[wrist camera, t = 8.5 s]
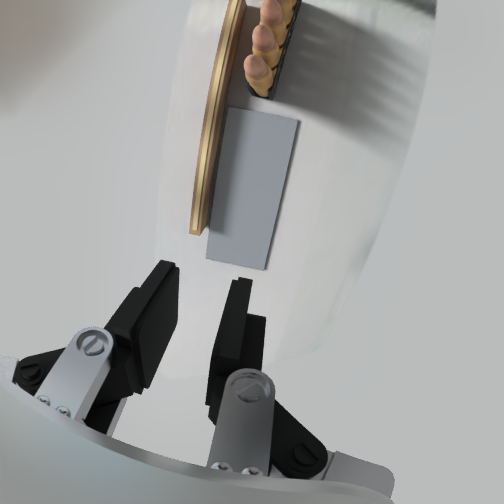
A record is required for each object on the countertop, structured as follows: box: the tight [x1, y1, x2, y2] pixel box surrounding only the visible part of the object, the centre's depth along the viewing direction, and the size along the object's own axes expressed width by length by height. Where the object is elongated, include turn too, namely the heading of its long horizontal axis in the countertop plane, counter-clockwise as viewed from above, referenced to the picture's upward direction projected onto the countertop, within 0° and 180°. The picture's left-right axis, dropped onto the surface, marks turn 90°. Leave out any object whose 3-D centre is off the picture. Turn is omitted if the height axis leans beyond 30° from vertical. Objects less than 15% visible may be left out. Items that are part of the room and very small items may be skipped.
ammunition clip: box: [244, 0, 301, 100], centre depth 13 cm, size 11×2×12 cm, turn 166°
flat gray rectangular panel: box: [206, 107, 298, 271], centre depth 25 cm, size 15×6×1 cm, turn 170°
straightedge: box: [189, 0, 247, 236], centre depth 21 cm, size 22×1×3 cm, turn 170°
